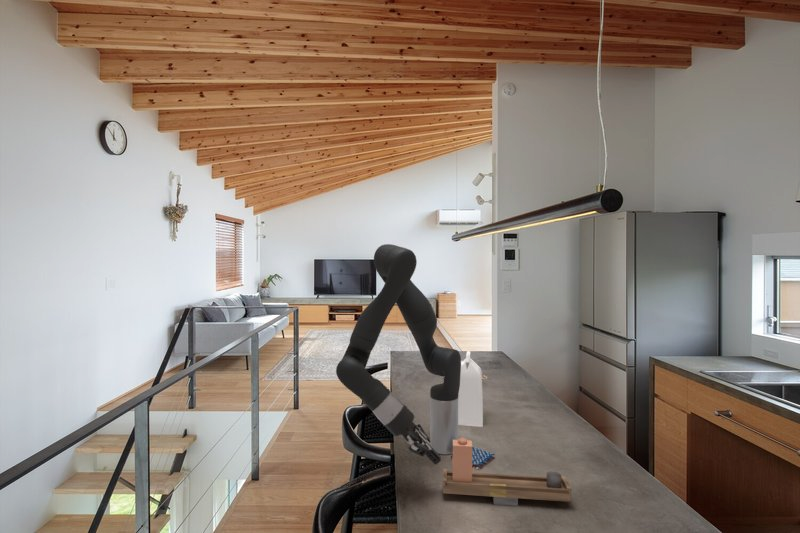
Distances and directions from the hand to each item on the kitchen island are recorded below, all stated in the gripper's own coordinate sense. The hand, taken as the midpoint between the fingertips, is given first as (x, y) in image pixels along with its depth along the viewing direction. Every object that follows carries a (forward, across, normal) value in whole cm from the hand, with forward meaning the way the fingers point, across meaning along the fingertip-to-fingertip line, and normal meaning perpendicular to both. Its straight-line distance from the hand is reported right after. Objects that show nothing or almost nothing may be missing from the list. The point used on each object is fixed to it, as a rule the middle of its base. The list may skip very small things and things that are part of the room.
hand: (438, 461), depth 113 cm
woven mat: (+14, +21, 0) cm, 25 cm away
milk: (+14, +53, -1) cm, 55 cm away
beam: (+18, 0, -6) cm, 19 cm away
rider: (+8, 0, -1) cm, 8 cm away
